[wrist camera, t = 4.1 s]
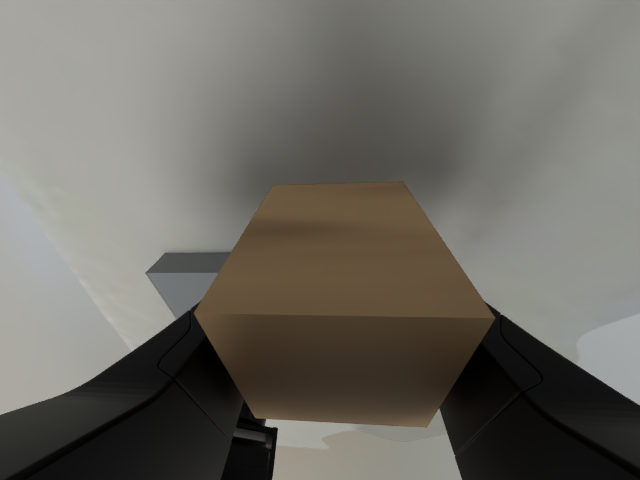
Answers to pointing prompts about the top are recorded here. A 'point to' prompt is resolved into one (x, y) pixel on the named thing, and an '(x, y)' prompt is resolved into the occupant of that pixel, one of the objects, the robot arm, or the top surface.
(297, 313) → the teak block
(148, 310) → the top surface
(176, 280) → the slate slab
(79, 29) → the top surface
